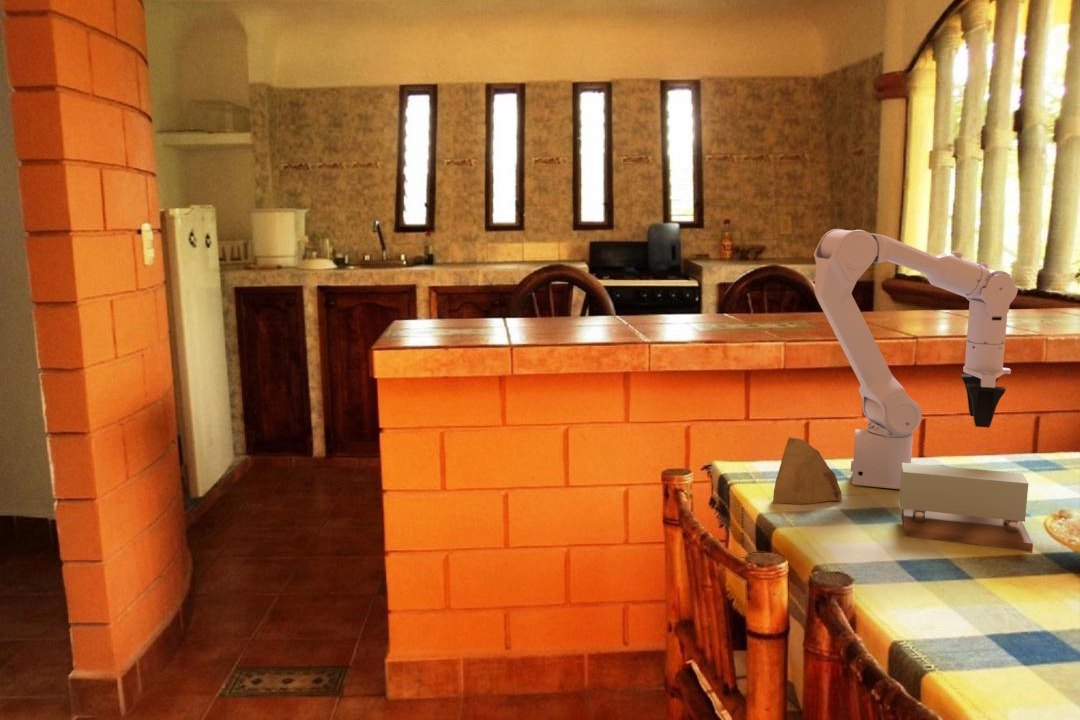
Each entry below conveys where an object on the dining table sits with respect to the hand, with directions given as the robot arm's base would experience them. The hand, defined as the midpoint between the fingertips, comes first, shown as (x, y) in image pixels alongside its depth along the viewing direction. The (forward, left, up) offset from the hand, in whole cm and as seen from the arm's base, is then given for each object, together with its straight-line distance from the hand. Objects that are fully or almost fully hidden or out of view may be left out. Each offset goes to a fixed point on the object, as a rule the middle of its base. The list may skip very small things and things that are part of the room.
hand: (979, 421), depth 147 cm
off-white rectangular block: (-5, -26, -7) cm, 27 cm away
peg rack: (-4, -26, -10) cm, 28 cm away
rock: (-26, -20, -11) cm, 35 cm away
